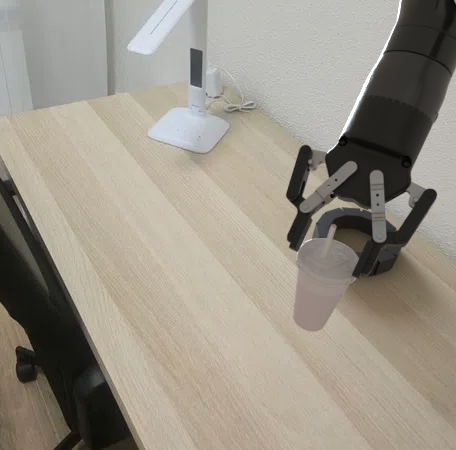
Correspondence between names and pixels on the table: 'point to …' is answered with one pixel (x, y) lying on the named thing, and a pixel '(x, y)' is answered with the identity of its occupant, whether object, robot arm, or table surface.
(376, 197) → the robot arm
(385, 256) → the tire
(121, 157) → the table surface
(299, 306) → the smoothie
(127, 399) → the table surface
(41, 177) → the table surface
